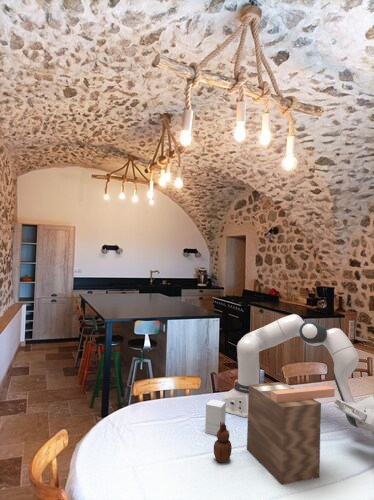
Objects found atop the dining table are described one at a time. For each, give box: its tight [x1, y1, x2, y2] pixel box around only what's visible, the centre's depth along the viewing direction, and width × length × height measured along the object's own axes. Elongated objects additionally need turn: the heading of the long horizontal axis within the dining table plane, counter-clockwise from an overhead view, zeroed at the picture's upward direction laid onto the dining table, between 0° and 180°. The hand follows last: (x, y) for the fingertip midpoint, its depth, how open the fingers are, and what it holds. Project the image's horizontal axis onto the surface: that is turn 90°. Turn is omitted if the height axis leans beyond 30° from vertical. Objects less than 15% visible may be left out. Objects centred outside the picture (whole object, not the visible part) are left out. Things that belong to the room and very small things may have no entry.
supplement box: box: [204, 398, 227, 436], centre depth 158 cm, size 7×7×13 cm
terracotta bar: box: [271, 385, 336, 403], centre depth 132 cm, size 26×4×3 cm, turn 110°
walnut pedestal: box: [246, 381, 322, 485], centre depth 135 cm, size 16×24×26 cm, turn 20°
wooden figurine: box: [213, 422, 233, 463], centre depth 134 cm, size 7×6×15 cm
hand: (344, 405), depth 138 cm, fingers open, 8 cm apart
